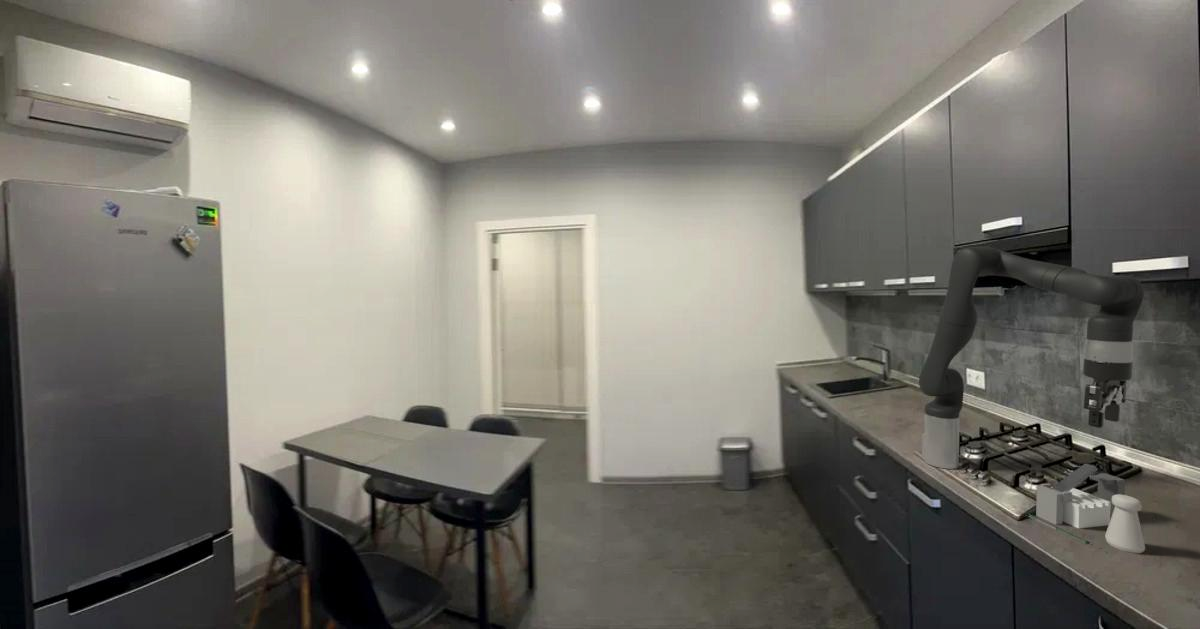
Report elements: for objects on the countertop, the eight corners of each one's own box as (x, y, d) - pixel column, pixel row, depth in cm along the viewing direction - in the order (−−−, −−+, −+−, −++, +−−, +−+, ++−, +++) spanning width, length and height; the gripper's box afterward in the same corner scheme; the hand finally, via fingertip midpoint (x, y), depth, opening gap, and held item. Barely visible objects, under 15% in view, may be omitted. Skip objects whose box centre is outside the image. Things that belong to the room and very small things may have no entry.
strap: (1047, 493, 109) (1045, 489, 109) (1084, 466, 110) (1082, 461, 110) (1062, 499, 106) (1060, 495, 106) (1100, 471, 107) (1098, 466, 107)
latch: (1088, 509, 112) (1089, 474, 111) (1103, 508, 112) (1104, 473, 111) (1108, 517, 108) (1109, 481, 107) (1123, 516, 108) (1125, 479, 107)
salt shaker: (1135, 562, 93) (1137, 505, 92) (1098, 547, 98) (1100, 493, 98) (1151, 556, 95) (1153, 500, 94) (1114, 542, 100) (1115, 489, 99)
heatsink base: (1012, 509, 116) (1012, 475, 115) (1077, 501, 118) (1078, 469, 118) (1084, 543, 100) (1086, 505, 99) (1158, 534, 102) (1160, 496, 102)
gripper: (1098, 353, 108) (1094, 414, 109) (1071, 359, 102) (1067, 424, 103) (1144, 357, 101) (1140, 423, 102) (1118, 364, 95) (1113, 433, 97)
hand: (1103, 423), depth 103 cm, fingers open, 8 cm apart
